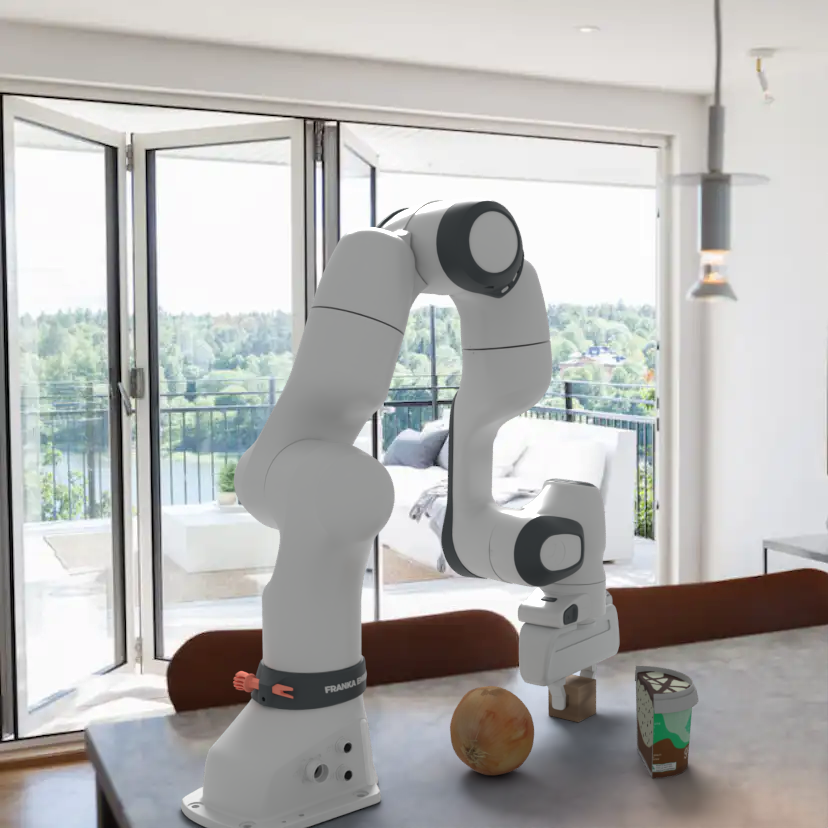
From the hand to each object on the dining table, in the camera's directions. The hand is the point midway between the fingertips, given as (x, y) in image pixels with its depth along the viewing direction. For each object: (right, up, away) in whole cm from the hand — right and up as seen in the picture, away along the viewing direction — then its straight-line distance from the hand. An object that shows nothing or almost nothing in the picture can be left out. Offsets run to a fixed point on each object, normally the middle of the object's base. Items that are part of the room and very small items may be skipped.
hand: (572, 702), depth 146 cm
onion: (-12, -3, -20) cm, 23 cm away
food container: (+9, -3, -17) cm, 20 cm away
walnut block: (0, -2, 0) cm, 2 cm away
